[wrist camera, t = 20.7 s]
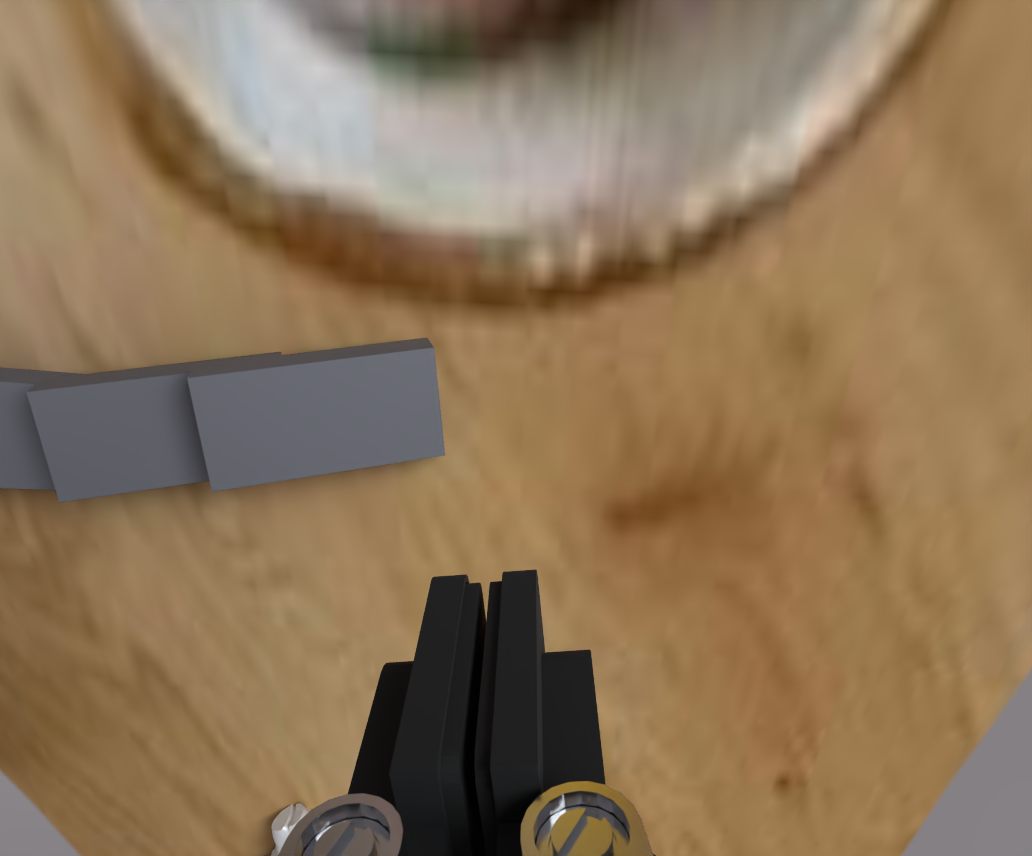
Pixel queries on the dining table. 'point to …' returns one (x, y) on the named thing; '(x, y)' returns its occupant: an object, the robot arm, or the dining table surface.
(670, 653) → the dining table surface
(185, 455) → the domino
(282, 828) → the sitting furry creature
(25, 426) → the domino
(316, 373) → the domino
